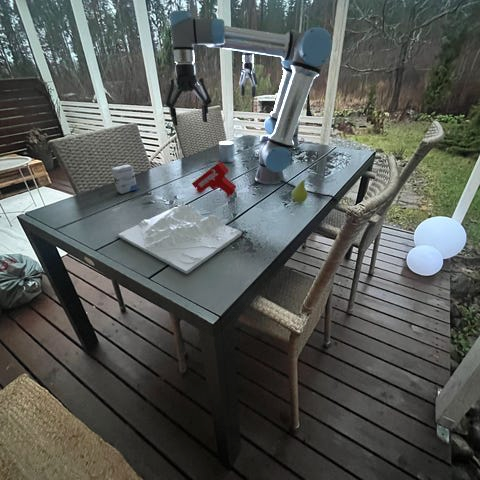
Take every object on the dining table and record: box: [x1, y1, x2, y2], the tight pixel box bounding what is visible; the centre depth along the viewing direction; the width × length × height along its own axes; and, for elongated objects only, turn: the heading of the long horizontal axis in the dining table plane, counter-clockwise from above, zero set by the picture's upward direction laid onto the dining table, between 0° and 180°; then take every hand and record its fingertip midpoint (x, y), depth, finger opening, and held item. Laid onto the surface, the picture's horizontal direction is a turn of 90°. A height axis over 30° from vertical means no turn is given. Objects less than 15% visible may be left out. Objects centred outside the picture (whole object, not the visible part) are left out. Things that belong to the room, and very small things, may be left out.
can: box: [218, 140, 235, 164], centre depth 173 cm, size 9×9×11 cm
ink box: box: [110, 164, 138, 195], centre depth 131 cm, size 8×5×12 cm, turn 135°
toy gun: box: [191, 160, 237, 197], centre depth 128 cm, size 18×4×15 cm
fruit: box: [291, 174, 311, 204], centre depth 118 cm, size 7×8×12 cm
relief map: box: [117, 202, 243, 275], centre depth 96 cm, size 27×35×5 cm
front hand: (190, 123), depth 115 cm, fingers open, 13 cm apart
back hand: (248, 96), depth 203 cm, fingers open, 13 cm apart
